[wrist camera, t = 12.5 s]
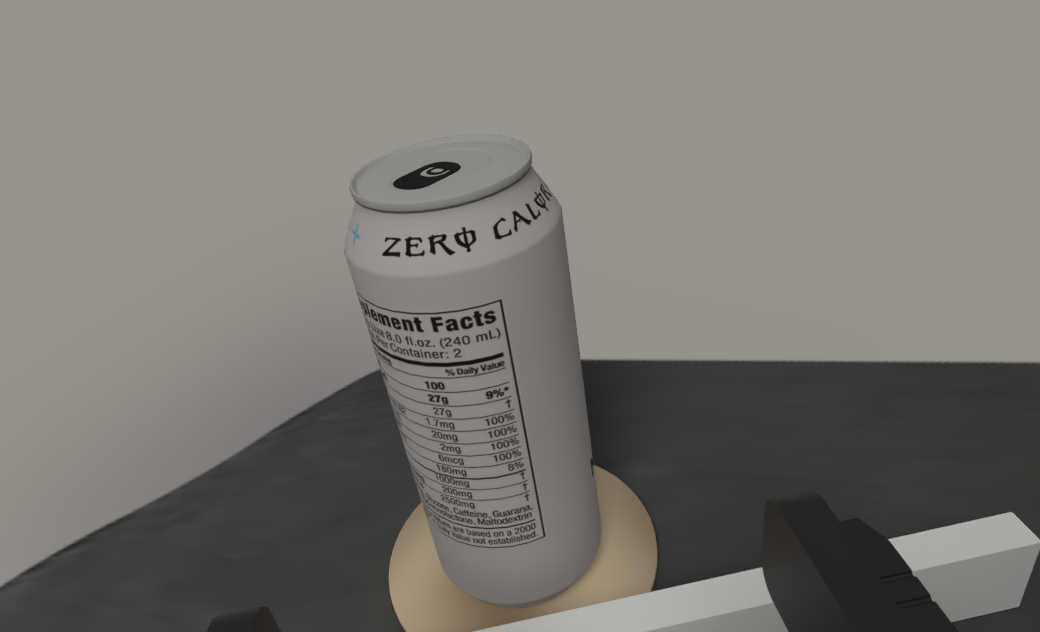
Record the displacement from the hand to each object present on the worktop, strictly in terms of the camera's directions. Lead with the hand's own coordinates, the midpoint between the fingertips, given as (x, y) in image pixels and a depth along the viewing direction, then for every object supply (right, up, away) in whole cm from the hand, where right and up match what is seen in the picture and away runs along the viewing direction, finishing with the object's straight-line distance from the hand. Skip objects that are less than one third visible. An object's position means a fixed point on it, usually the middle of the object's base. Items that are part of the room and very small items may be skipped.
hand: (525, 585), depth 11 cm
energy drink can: (0, -5, +15) cm, 16 cm away
